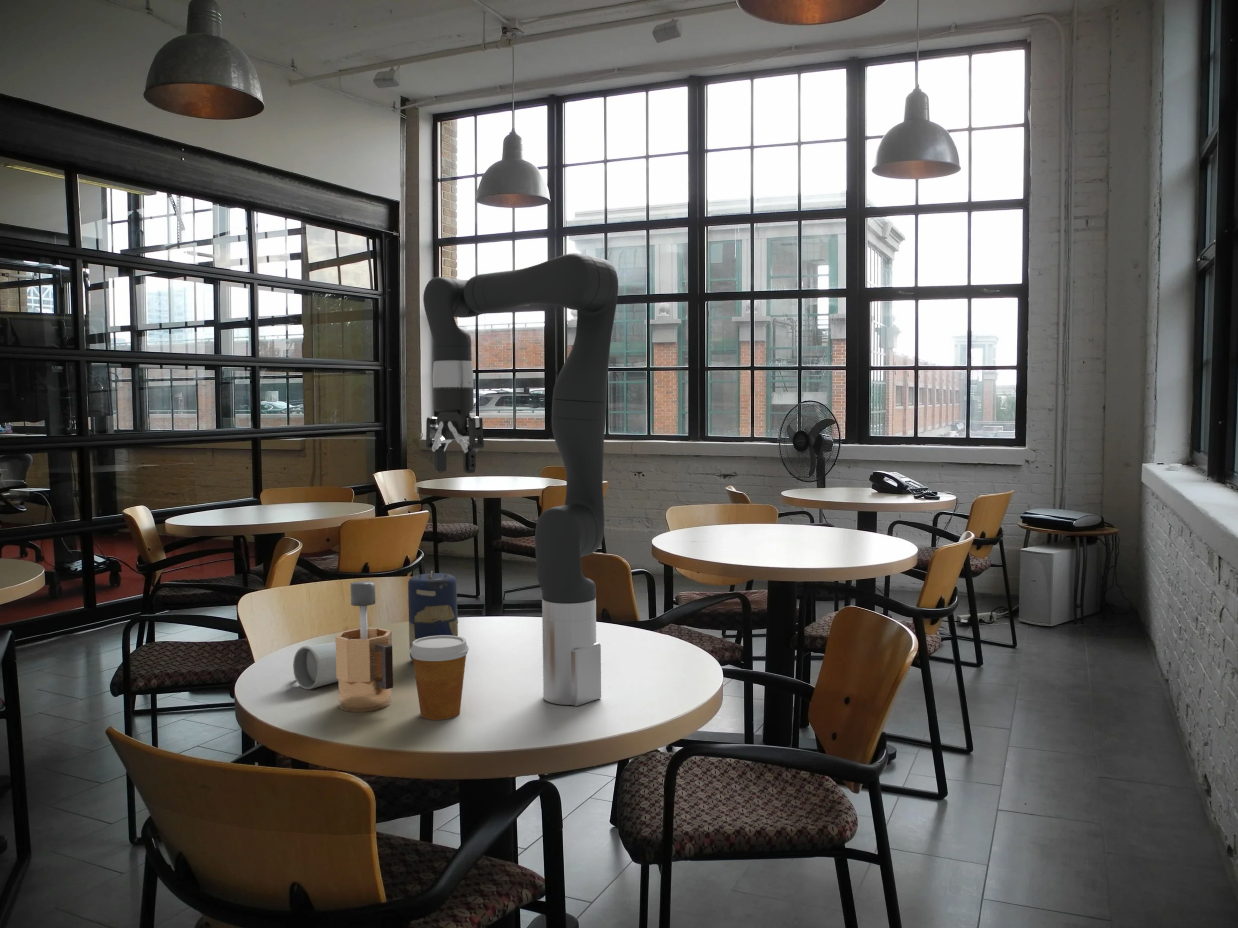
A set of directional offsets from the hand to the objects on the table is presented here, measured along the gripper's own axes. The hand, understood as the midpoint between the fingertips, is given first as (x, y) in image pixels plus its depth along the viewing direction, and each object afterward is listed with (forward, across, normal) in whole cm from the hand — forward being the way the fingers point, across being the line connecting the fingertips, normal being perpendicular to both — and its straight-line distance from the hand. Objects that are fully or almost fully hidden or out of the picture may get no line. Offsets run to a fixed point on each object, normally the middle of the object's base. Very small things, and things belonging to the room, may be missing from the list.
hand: (454, 472), depth 177 cm
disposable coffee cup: (+38, -18, +18) cm, 46 cm away
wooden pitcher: (+38, -5, +23) cm, 45 cm away
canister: (+38, +10, -2) cm, 40 cm away
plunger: (+32, -4, +23) cm, 40 cm away
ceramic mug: (+38, +14, +22) cm, 46 cm away
